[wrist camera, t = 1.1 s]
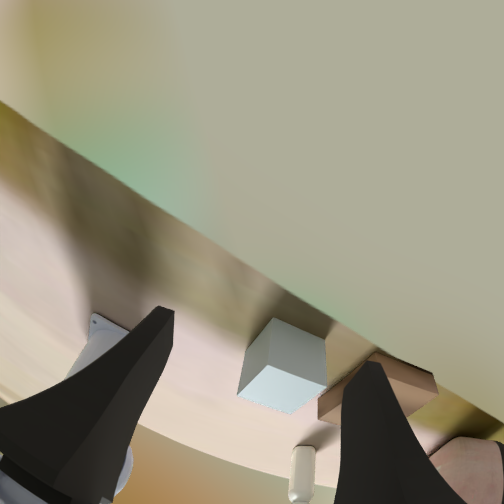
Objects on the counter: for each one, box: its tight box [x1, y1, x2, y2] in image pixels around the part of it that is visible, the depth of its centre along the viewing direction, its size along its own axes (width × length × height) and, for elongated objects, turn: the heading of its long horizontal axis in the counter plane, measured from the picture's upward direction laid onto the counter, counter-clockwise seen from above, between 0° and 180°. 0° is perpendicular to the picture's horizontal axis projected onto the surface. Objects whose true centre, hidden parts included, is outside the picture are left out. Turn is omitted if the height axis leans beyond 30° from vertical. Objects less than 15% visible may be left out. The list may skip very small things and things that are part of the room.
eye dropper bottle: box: [288, 446, 316, 504], centre depth 32 cm, size 4×6×12 cm
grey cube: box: [237, 317, 327, 414], centre depth 24 cm, size 5×5×5 cm
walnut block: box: [318, 352, 439, 426], centre depth 27 cm, size 9×9×3 cm
